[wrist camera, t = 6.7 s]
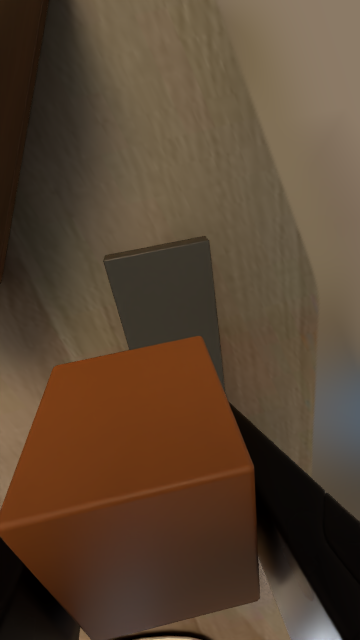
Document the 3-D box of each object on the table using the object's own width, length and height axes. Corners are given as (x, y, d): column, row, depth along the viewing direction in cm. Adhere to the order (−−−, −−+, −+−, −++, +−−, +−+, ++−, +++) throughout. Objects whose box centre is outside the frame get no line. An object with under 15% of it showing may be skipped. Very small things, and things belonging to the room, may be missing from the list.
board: (104, 255, 17) (102, 260, 16) (205, 235, 18) (209, 239, 17) (181, 523, 32) (183, 533, 31) (235, 510, 32) (238, 520, 32)
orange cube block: (52, 364, 7) (-11, 530, 4) (201, 333, 7) (256, 468, 4) (105, 480, 9) (92, 645, 6) (218, 454, 9) (261, 601, 6)
